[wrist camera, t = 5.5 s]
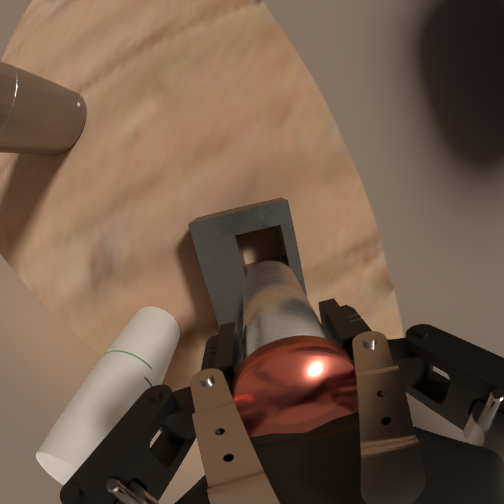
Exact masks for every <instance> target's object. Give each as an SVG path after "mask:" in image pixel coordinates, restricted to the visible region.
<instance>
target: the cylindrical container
mask: <svg viewBox="0 0 504 504" xmlns="http://www.w3.org/2000/svg"><path fill="white" fill-rule="evenodd" d="M179 338H180V330H179V326H178V324H177V322H176V320H175V319H174V318H173V317H172V316H171V315H170V314H169V313H168V312H166V311H164V310H163V309H160V308H157V307H144V308H141V309H139V310H138V311H137V312H136V313H135V314H134V315H133V317H132V318H131V319H130V320H129V322H128V323H127V324H126V325H125V327H124V328H123V329H122V331H121V332H120V333H119V335H118V336H117V337H116V338H115V340H114V341H113V342H112V344H111V345H110V346H109V348H108V349H107V350H106V352H105V353H104V354H103V356H102V357H101V359H100V360H99V362H98V363H97V364H96V365H95V367H94V368H93V369H92V371H91V372H90V374H89V375H88V376H87V378H86V379H85V381H84V382H83V383H82V385H81V386H80V388H79V389H78V391H77V392H76V393H75V395H74V396H73V398H72V399H71V401H70V402H69V404H68V405H67V407H66V408H65V410H64V411H63V413H62V414H61V416H60V417H59V419H58V420H57V422H56V423H55V425H54V426H53V428H52V430H51V431H50V433H49V434H48V436H47V437H46V439H45V440H44V442H43V444H42V445H41V447H40V449H39V450H38V452H37V454H36V459H37V460H38V462H39V463H40V465H41V466H42V467H43V468H44V469H45V470H46V471H47V472H48V473H49V474H50V475H51V476H52V477H53V478H55V479H56V480H57V481H59V482H60V483H61V484H62V485H65V483H66V482H67V481H68V480H69V479H70V478H71V476H72V475H73V474H74V473H75V472H76V471H77V469H78V468H79V467H80V466H81V465H82V464H83V463H84V461H85V460H86V459H87V458H88V457H89V456H90V454H91V453H92V452H93V451H94V450H95V449H96V447H97V446H98V445H99V444H100V443H101V442H102V440H103V439H104V438H105V437H106V436H107V435H108V433H109V432H110V431H111V430H112V429H113V428H114V426H115V425H116V424H117V423H118V422H119V421H120V419H121V418H122V417H123V416H124V415H125V413H126V412H127V411H128V410H129V409H130V408H131V406H132V405H133V404H134V403H135V402H136V400H137V399H138V398H139V397H140V396H141V395H142V393H143V392H144V391H145V390H147V389H148V388H150V387H152V386H155V385H162V383H163V380H164V377H165V374H166V372H167V369H168V367H169V364H170V362H171V359H172V356H173V354H174V351H175V349H176V346H177V344H178V341H179Z"/></svg>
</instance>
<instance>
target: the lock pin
mask: <svg viewBox="0 0 504 504" xmlns="http://www.w3.org/2000/svg"><path fill="white" fill-rule="evenodd" d="M232 397H233V400H234V402H235V405H236V407H237V410H238V412H239V415H240V417H241V419H242V422H243V424H244V426H245V429H246V431H247V433H248V435H249V437H255V436H261V435H267V434H273V433H305V432H308V431H310V430H313V429H315V428H317V427H319V426H321V425H323V424H325V423H327V422H329V421H331V420H333V419H336V418H339V417H343V416H346V415H349V414H352V413H355V408H356V382H355V366H354V362H353V361H352V359H351V357H350V355H349V354H348V353H347V351H346V350H345V349H344V348H343V347H342V346H340V345H339V344H337V343H336V342H334V341H331V340H329V339H328V337H327V335H326V333H325V331H324V329H323V327H322V325H321V324H320V322H319V320H318V318H317V316H316V314H315V312H314V310H313V308H312V306H311V304H310V302H309V301H308V299H307V297H306V295H305V293H304V291H303V289H302V287H301V285H300V284H299V282H298V280H297V278H296V276H295V274H294V273H293V271H292V270H291V269H290V268H289V267H288V266H287V265H285V264H284V263H281V262H278V261H264V262H261V263H259V264H257V265H255V266H254V267H252V268H251V269H250V270H249V272H248V273H247V275H246V277H245V280H244V285H243V362H242V363H241V364H240V366H239V367H238V369H237V370H236V373H235V375H234V378H233V382H232Z"/></svg>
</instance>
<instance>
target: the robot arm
mask: <svg viewBox="0 0 504 504" xmlns="http://www.w3.org/2000/svg"><path fill="white" fill-rule="evenodd" d="M85 119H86V106H85V102H84V100H83V98H82V97H81V96H80V95H79V94H77V93H76V92H73V91H71V90H69V89H67V88H65V87H63V86H60V85H58V84H56V83H54V82H51V81H49V80H47V79H44V78H42V77H40V76H37V75H35V74H32V73H30V72H27V71H25V70H22V69H20V68H17V67H15V66H12V65H9V64H6V63H4V62H1V61H0V152H3V153H28V154H60V153H63V152H65V151H67V150H68V149H69V148H70V147H71V146H72V145H73V144H74V143H75V142H76V141H77V139H78V137H79V136H80V134H81V132H82V130H83V127H84V124H85ZM319 310H320V317H321V324H322V327H323V329H324V331H325V333H326V335H327V337H328V339H329V340H331V341H334V342H336V343H337V344H339V345H340V346H342V347H343V348H344V349H345V350H346V351H347V353H348V354H349V355H350V357H351V359H352V361H353V362H354V366H355V382H356V408H355V413H352V414H349V415H346V416H343V417H339V418H336V419H333V420H331V421H329V422H327V423H325V424H323V425H321V426H319V427H317V428H315V429H313V430H310V431H308V432H305V433H273V434H267V435H261V436H255V437H249V435H248V433H247V431H246V429H245V426H244V424H243V422H242V419H241V417H240V415H239V412H238V410H237V407H236V405H235V402H234V400H233V397H232V382H233V378H234V375H235V373H236V370H237V369H238V367H239V366H240V364H241V363H242V362H243V344H242V340H241V337H240V334H239V331H238V327H237V324H236V322H231V323H226V324H221V325H220V329H219V335H216V336H212V337H211V338H210V339H209V340H208V341H207V343H206V348H205V352H204V357H203V362H202V367H201V371H200V372H198V373H196V374H195V375H194V376H193V377H192V378H191V380H190V386H188V387H186V388H184V389H181V390H178V391H175V392H172V390H171V388H170V387H169V386H167V385H155V386H152V387H150V388H148V389H147V390H145V391H144V392H143V393H142V395H141V396H140V397H139V398H138V399H137V400H136V402H135V403H134V404H133V405H132V406H131V408H130V409H129V410H128V411H127V412H126V413H125V415H124V416H123V417H122V418H121V419H120V421H119V422H118V423H117V424H116V425H115V426H114V428H113V429H112V430H111V431H110V432H109V433H108V435H107V436H106V437H105V438H104V439H103V440H102V442H101V443H100V444H99V445H98V446H97V447H96V449H95V450H94V451H93V452H92V453H91V454H90V456H89V457H88V458H87V459H86V460H85V461H84V463H83V464H82V465H81V466H80V467H79V468H78V469H77V471H76V472H75V473H74V474H73V475H72V476H71V478H70V479H69V480H68V481H67V482H66V483H65V485H64V486H63V487H62V489H61V492H60V500H61V502H62V504H159V502H158V501H159V499H160V497H161V496H162V494H163V493H164V491H165V489H166V488H167V486H168V485H169V482H170V481H171V480H172V478H173V476H174V475H175V473H176V471H177V470H178V468H179V466H180V465H181V463H182V461H183V459H184V458H185V456H186V454H187V453H188V451H189V449H190V447H191V446H192V444H193V442H194V441H195V438H196V437H197V441H198V446H199V449H200V454H201V459H202V463H203V467H204V471H205V475H204V476H203V477H202V478H201V479H200V480H199V481H198V482H197V483H196V484H195V485H194V486H193V487H192V488H191V489H190V490H189V491H188V492H187V493H186V494H185V495H184V496H183V497H181V498H180V499H179V500H178V501H177V502H176V503H175V504H504V358H503V357H500V356H498V355H496V354H494V353H492V352H489V351H487V350H485V349H482V348H480V347H478V346H476V345H474V344H471V343H469V342H467V341H465V340H462V339H460V338H458V337H456V336H454V335H451V334H449V333H447V332H445V331H442V330H440V329H438V328H436V327H433V326H431V325H427V324H419V325H415V326H413V327H411V328H409V329H408V330H407V332H406V338H400V339H392V340H388V339H386V337H385V335H384V334H382V333H380V332H376V331H372V330H371V329H370V328H369V327H368V325H367V324H366V323H365V322H364V320H363V319H361V317H360V315H358V313H357V312H356V311H355V309H354V308H352V307H350V306H347V305H344V306H341V307H340V306H339V305H338V303H337V302H336V301H335V299H334V298H333V299H329V300H325V301H322V302H319ZM433 366H435V367H437V368H439V369H440V370H442V371H444V372H446V373H447V374H448V375H449V378H450V380H449V379H447V378H445V377H443V376H442V375H440V374H438V373H436V372H435V371H433ZM406 392H407V393H408V394H410V395H411V396H413V397H414V398H416V399H417V400H419V401H420V402H422V403H423V404H424V405H426V406H427V407H429V408H430V409H432V410H433V411H435V412H436V413H438V414H440V415H441V416H442V417H444V418H445V419H447V420H449V421H450V422H451V423H453V424H454V425H456V426H458V427H459V428H461V429H462V430H463V432H464V437H465V439H466V441H467V443H465V442H462V441H458V440H455V439H451V438H448V437H445V436H441V435H438V434H435V433H432V432H429V431H426V430H423V429H420V428H417V427H414V426H413V422H412V417H411V413H410V408H409V404H408V399H407V396H406ZM158 430H160V431H161V434H160V435H159V437H158V438H157V439H156V441H155V442H154V444H153V445H152V447H151V448H150V442H151V440H152V438H153V437H154V436H155V434H156V433H157V432H158Z"/></svg>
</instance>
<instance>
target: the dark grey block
mask: <svg viewBox="0 0 504 504" xmlns="http://www.w3.org/2000/svg"><path fill="white" fill-rule="evenodd" d="M188 225H189V229H190V232H191V236H192V240H193V243H194V247H195V250H196V254H197V257H198V261H199V264H200V268H201V271H202V274H203V278H204V281H205V284H206V288H207V291H208V294H209V297H210V301H211V304H212V307H213V310H214V313H215V316H216V319H217V323H218V326H219V329H220V325H221V324H226V323H231V322H236V324H237V327H238V331H239V334H240V337H241V340H242V344H243V285H244V280H245V277H246V275H247V273H248V272H249V270H250V269H251V268H252V267H254V266H255V265H257V264H259V263H261V262H264V261H278V262H281V263H284V264H285V265H287V266H288V267H289V268H290V269H291V270H292V271H293V273H294V274H295V276H296V278H297V280H298V282H299V284H300V285H301V287H302V289H303V291H304V293H305V295H306V289H305V284H304V278H303V273H302V268H301V262H300V257H299V252H298V247H297V242H296V237H295V232H294V227H293V222H292V218H291V213H290V208H289V204H288V200H286V199H283V198H278V199H273V200H269V201H264V202H260V203H256V204H251V205H247V206H243V207H239V208H234V209H230V210H226V211H222V212H218V213H214V214H210V215H206V216H202V217H199V218H196V219H195V220H193V221H192V222H191V223H189V224H188ZM273 226H277V228H278V233H279V237H280V242H281V247H282V251H283V256H282V257H277V258H273V259H269V260H264V261H260V262H256V263H251V264H247V265H246V264H245V260H244V256H243V252H242V248H241V244H240V240H239V236H238V235H239V234H243V233H247V232H251V231H256V230H260V229H264V228H269V227H273ZM306 297H307V295H306Z"/></svg>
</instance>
